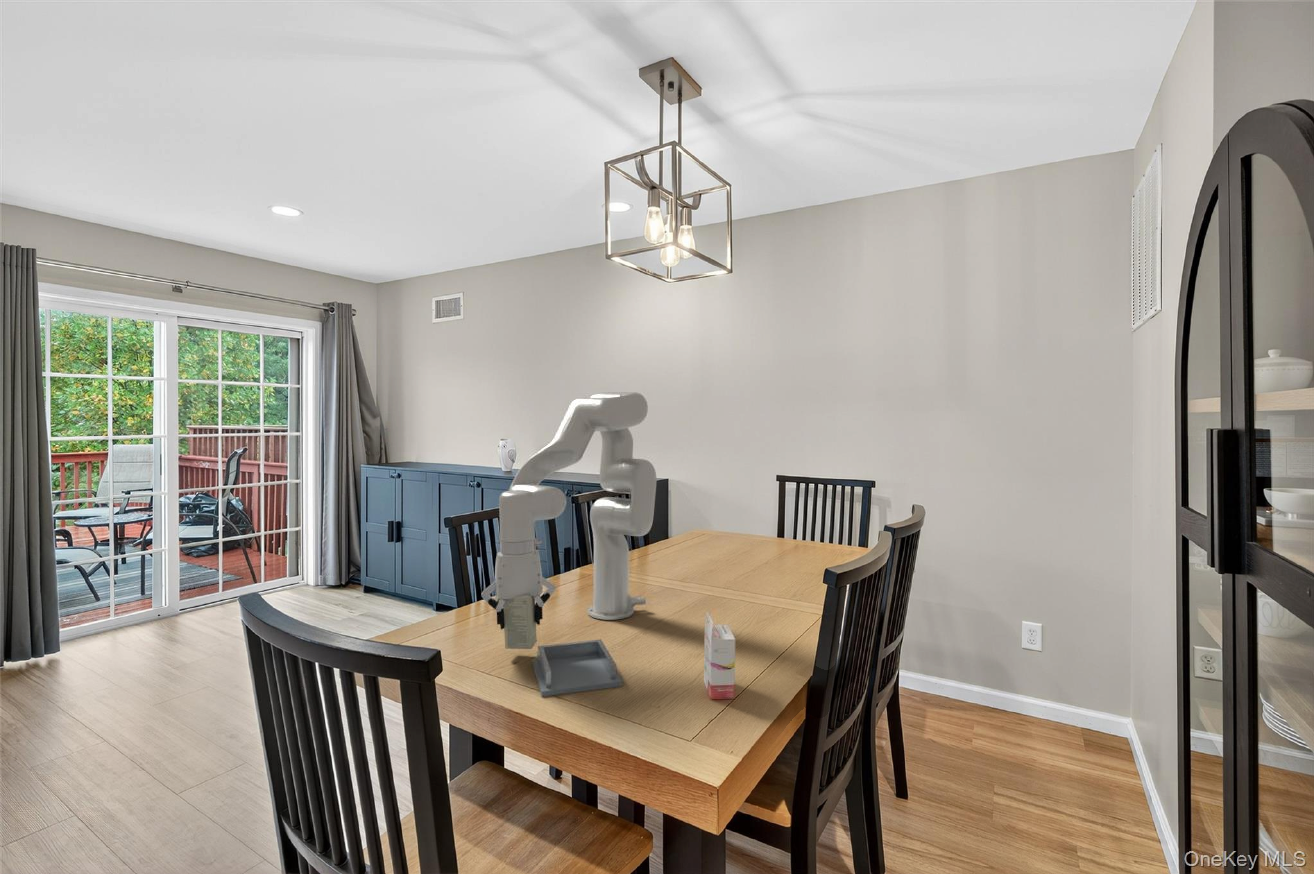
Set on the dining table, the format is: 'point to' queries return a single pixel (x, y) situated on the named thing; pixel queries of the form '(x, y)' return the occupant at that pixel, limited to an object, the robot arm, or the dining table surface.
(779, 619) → the dining table surface
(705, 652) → the ink cartridge box
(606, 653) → the tray
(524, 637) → the skincare box
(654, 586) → the dining table surface
